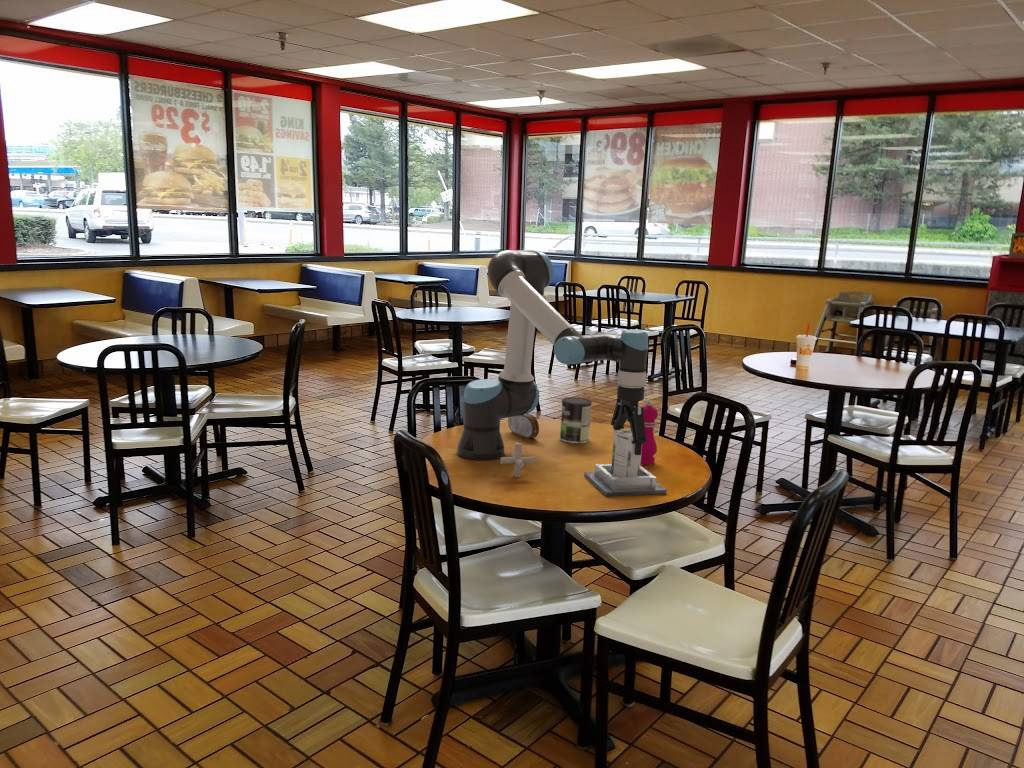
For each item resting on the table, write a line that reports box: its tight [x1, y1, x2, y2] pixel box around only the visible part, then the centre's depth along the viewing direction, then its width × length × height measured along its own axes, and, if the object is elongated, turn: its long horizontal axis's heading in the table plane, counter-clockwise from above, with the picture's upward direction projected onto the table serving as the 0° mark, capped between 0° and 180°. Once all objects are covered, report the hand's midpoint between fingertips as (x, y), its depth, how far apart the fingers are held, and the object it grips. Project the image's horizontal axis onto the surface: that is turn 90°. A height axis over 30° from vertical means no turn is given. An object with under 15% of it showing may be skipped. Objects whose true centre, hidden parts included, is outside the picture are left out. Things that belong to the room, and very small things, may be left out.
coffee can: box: [559, 396, 593, 444], centre depth 261 cm, size 10×10×14 cm
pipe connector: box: [499, 442, 536, 478], centre depth 219 cm, size 10×10×10 cm
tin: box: [507, 413, 540, 439], centre depth 264 cm, size 15×3×8 cm, turn 37°
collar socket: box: [583, 463, 668, 498], centre depth 216 cm, size 18×18×4 cm
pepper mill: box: [641, 400, 659, 466], centre depth 237 cm, size 7×7×20 cm
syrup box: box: [611, 429, 639, 477], centre depth 215 cm, size 6×6×14 cm
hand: (626, 458), depth 215 cm, fingers open, 13 cm apart
